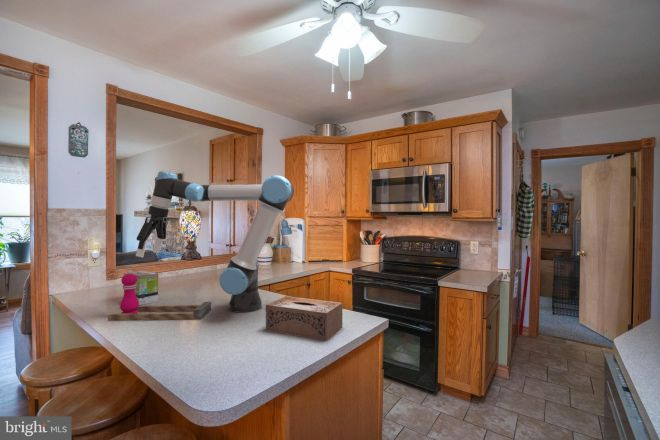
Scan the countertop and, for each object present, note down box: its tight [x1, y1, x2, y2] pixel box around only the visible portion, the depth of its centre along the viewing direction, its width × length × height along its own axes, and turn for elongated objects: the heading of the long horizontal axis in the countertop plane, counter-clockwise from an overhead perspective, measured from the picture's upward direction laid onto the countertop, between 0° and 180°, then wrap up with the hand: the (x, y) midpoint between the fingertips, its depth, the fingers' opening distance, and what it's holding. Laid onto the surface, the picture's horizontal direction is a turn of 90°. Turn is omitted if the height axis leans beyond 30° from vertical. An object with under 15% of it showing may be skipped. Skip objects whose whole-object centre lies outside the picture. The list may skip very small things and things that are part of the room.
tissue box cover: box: [265, 295, 343, 342], centre depth 122 cm, size 26×14×10 cm, turn 66°
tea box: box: [123, 270, 159, 306], centre depth 162 cm, size 15×10×15 cm, turn 58°
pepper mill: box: [119, 269, 140, 314], centre depth 138 cm, size 7×7×20 cm
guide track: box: [107, 301, 212, 322], centre depth 139 cm, size 38×13×4 cm, turn 92°
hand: (148, 254), depth 137 cm, fingers open, 13 cm apart
